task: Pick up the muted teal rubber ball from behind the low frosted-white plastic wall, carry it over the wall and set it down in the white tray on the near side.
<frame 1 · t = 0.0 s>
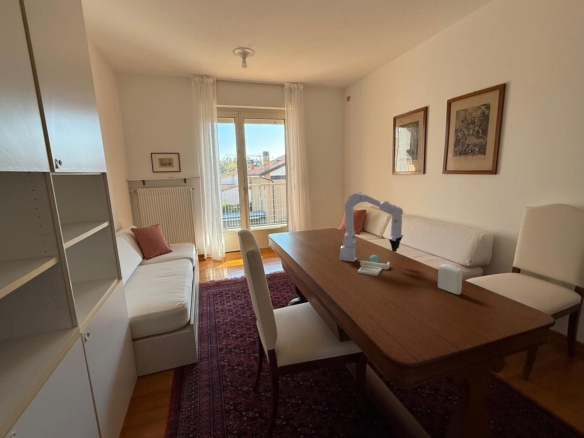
hand: (395, 249, 157), 10 cm above the table, fingers open, 7 cm apart
wall: (372, 267, 157), on the table
ball: (374, 263, 163), on the table
white tray: (369, 271, 151), on the table
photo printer: (448, 290, 124), on the table
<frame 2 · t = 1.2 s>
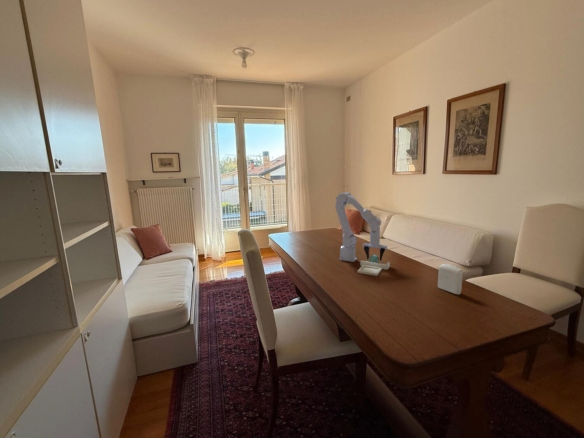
hand: (374, 259, 163), 3 cm above the table, fingers open, 7 cm apart
nothing on the table moved.
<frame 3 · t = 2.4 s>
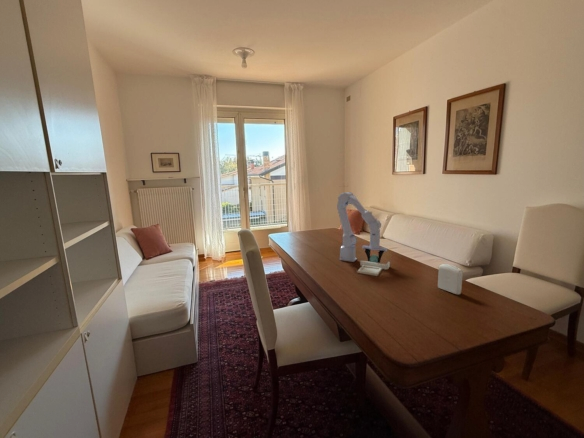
hand: (374, 261, 163), 1 cm above the table, fingers closed on ball, 6 cm apart
ball: (374, 263, 163), on the table, touching gripper
everything else where it was.
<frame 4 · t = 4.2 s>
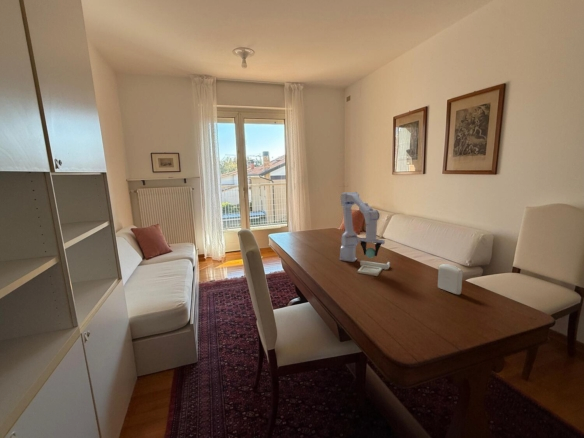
hand: (370, 255, 149), 9 cm above the table, fingers closed on ball, 6 cm apart
ball: (370, 257, 150), point 8 cm above the table, touching gripper
everything else where it was.
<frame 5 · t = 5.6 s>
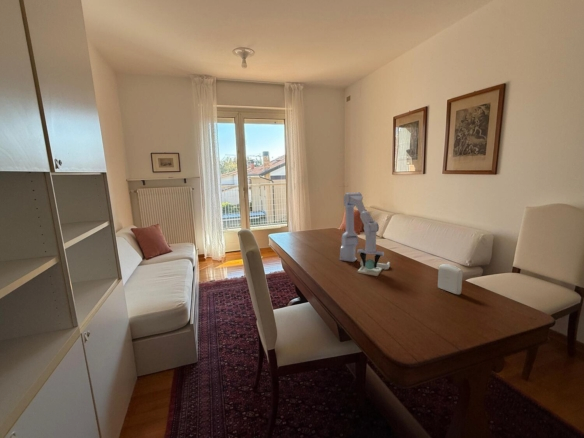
hand: (369, 266, 150), 3 cm above the table, fingers closed on ball, 6 cm apart
ball: (370, 269, 150), point 1 cm above the table, touching gripper
everything else where it was.
when the fingers open (3 cm above the table, at t = 6.5 s): ball stays where it is, resting on white tray.
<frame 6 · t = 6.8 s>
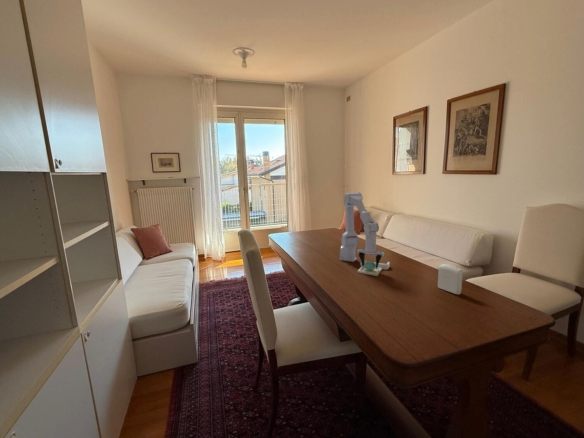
hand: (369, 266, 150), 3 cm above the table, fingers open, 7 cm apart
ball: (369, 270, 151), resting on white tray
everything else where it was.
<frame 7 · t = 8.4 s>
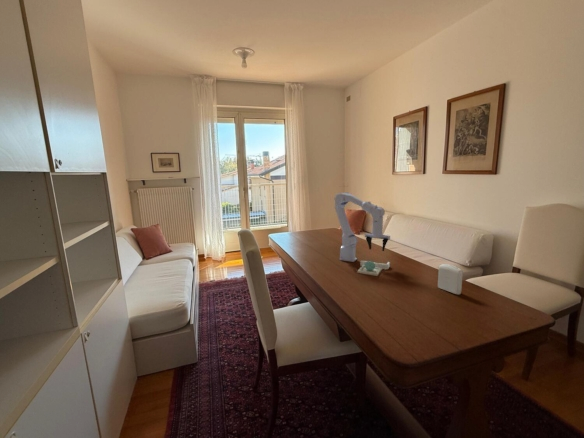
hand: (376, 249, 158), 10 cm above the table, fingers open, 7 cm apart
nothing on the table moved.
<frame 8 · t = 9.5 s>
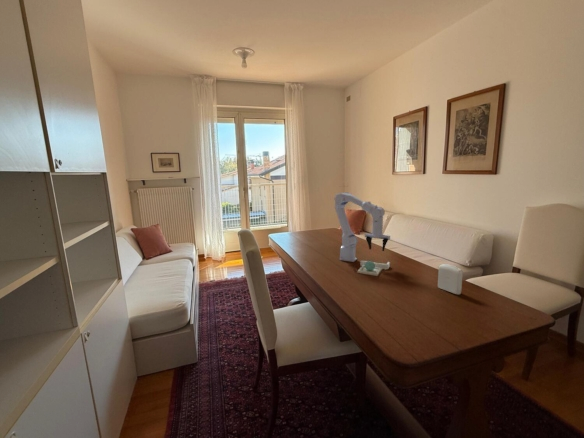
hand: (376, 249, 158), 10 cm above the table, fingers open, 7 cm apart
nothing on the table moved.
at the end: ball inside the target area on the white tray (0.1 cm from its centre), point 0.4 cm above the white tray's base; the gripper is holding nothing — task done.
